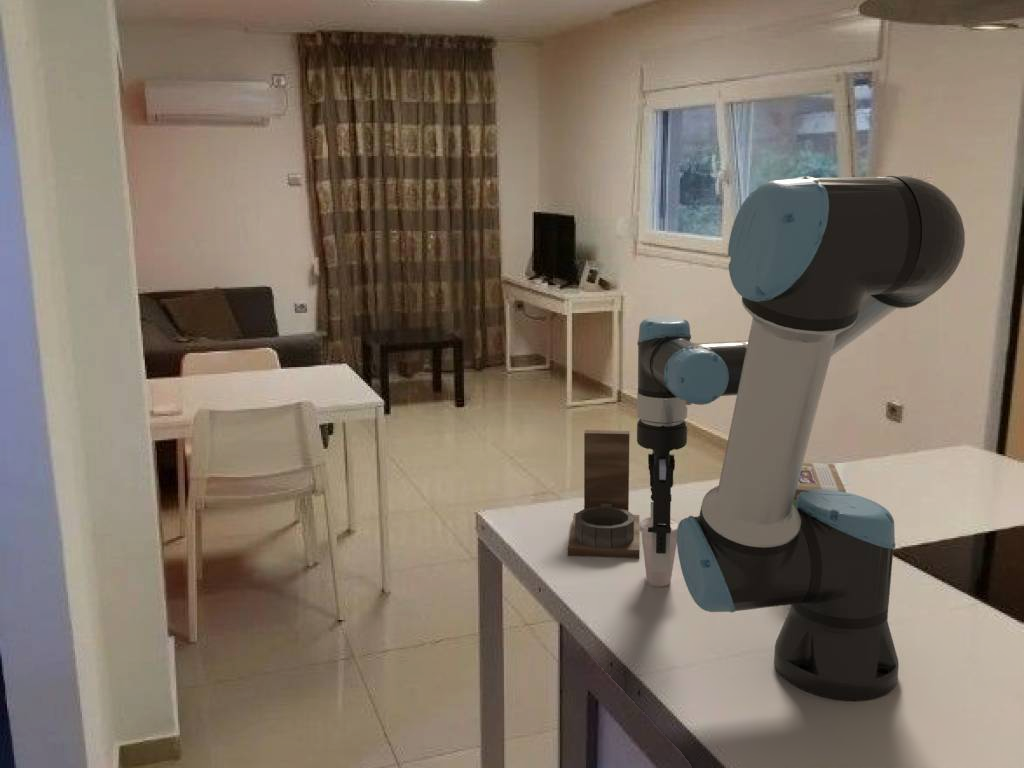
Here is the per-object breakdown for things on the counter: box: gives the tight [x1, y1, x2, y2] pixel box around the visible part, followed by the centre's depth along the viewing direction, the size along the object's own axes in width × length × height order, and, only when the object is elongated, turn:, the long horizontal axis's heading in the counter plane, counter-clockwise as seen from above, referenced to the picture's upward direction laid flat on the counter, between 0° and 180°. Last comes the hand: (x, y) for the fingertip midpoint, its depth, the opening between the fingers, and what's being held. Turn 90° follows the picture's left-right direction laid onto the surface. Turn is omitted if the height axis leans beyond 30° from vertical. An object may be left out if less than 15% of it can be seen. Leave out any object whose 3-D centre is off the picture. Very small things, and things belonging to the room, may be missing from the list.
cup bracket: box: [567, 429, 641, 559], centre depth 161 cm, size 16×12×18 cm
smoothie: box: [639, 516, 680, 588], centre depth 144 cm, size 6×6×14 cm
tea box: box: [793, 462, 847, 508], centre depth 152 cm, size 15×10×15 cm, turn 168°
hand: (659, 555), depth 145 cm, fingers open, 11 cm apart
